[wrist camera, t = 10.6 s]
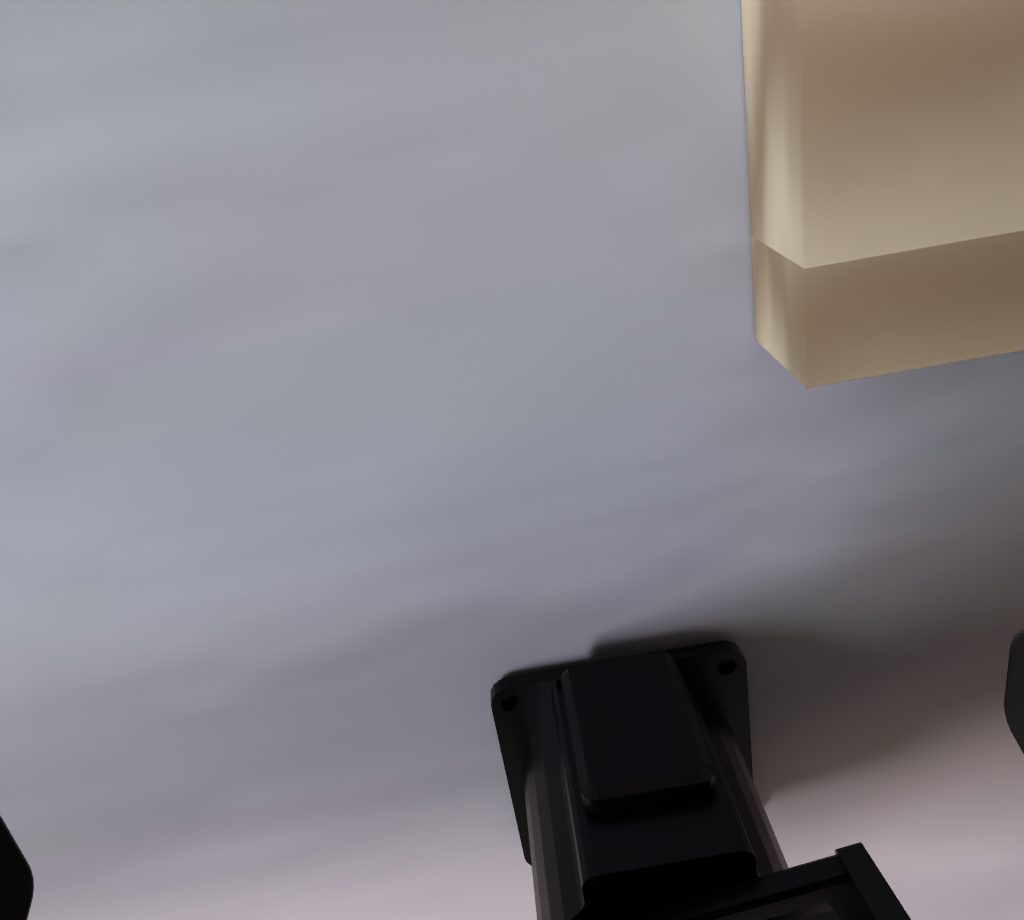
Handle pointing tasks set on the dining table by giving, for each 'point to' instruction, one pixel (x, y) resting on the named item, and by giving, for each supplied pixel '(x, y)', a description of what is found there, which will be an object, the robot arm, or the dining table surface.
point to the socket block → (885, 182)
